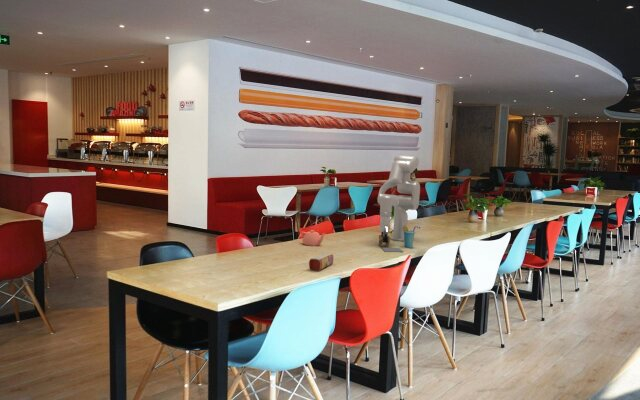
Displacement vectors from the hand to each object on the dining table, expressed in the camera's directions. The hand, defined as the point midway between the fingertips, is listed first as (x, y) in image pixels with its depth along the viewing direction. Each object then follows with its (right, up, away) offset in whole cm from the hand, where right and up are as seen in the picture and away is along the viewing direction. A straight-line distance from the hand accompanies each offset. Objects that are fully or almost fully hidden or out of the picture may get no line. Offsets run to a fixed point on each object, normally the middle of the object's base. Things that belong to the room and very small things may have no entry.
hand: (384, 241), depth 371 cm
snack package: (-41, -9, -70) cm, 82 cm away
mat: (+4, -5, -11) cm, 13 cm away
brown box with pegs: (0, -3, 0) cm, 3 cm away
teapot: (-47, -2, -6) cm, 47 cm away
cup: (+17, -4, +1) cm, 17 cm away
